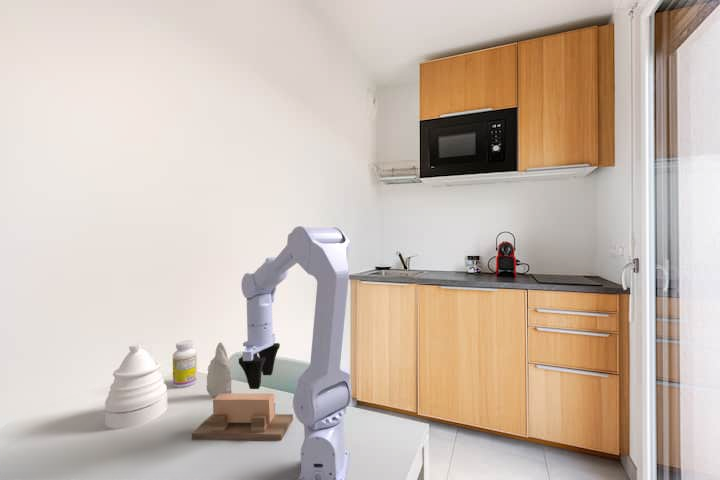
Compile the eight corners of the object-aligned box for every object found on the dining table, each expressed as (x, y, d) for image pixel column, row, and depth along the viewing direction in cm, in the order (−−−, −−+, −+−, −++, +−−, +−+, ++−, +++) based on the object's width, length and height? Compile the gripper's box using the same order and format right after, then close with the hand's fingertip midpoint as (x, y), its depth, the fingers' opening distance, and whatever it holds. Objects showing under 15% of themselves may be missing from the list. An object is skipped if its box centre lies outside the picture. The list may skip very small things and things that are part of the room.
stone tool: (235, 394, 88) (234, 341, 89) (228, 399, 85) (227, 344, 86) (210, 392, 91) (209, 340, 91) (202, 397, 88) (201, 343, 88)
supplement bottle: (177, 380, 100) (177, 340, 100) (200, 378, 101) (199, 338, 102) (169, 389, 93) (168, 346, 94) (193, 386, 95) (192, 344, 95)
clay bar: (269, 422, 69) (269, 399, 69) (213, 422, 70) (212, 399, 70) (274, 415, 72) (273, 393, 72) (220, 415, 73) (220, 393, 73)
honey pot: (163, 419, 76) (162, 345, 77) (97, 434, 71) (96, 354, 71) (170, 398, 88) (169, 333, 89) (113, 409, 82) (112, 340, 83)
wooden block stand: (281, 440, 66) (281, 419, 66) (191, 438, 68) (191, 419, 68) (292, 419, 74) (292, 401, 74) (212, 418, 76) (211, 401, 76)
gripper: (256, 317, 82) (257, 369, 81) (228, 331, 67) (229, 395, 67) (282, 316, 81) (284, 369, 81) (260, 331, 67) (261, 395, 66)
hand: (261, 381), depth 74 cm, fingers open, 7 cm apart
